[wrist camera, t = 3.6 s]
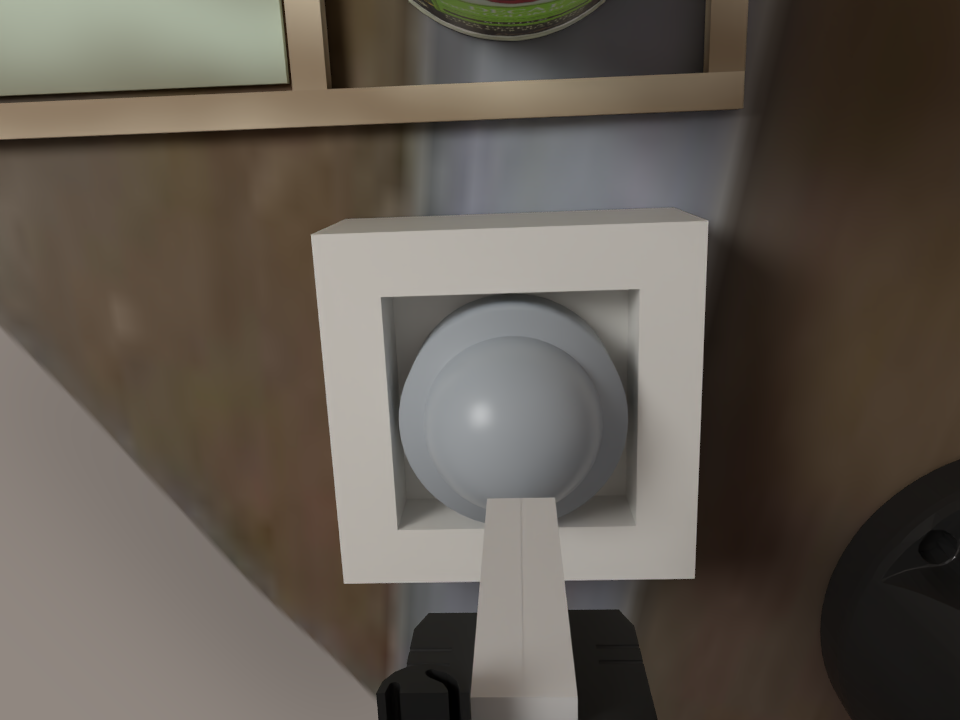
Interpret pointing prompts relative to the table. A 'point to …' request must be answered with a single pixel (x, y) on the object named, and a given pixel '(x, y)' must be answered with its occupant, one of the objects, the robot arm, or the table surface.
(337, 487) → the dome base
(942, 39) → the table surface
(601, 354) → the dome
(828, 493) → the table surface
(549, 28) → the coffee can
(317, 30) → the frame
